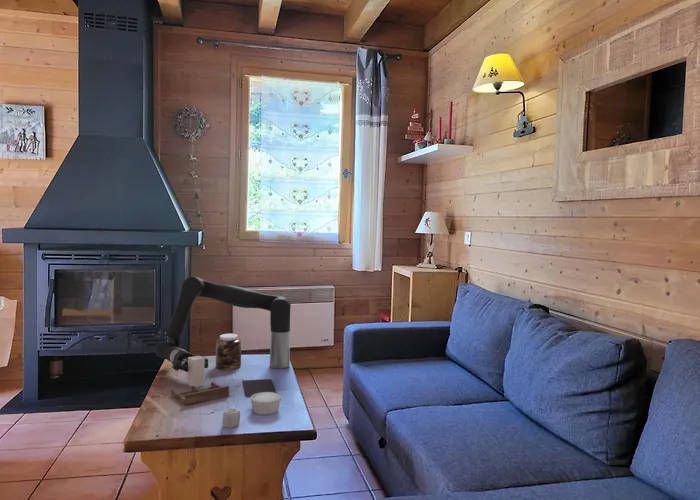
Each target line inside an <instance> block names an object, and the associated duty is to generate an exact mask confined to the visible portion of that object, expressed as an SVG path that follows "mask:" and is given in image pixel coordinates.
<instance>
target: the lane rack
mask: <svg viewBox="0 0 700 500" xmlns="http://www.w3.org/2000/svg"><path fill="white" fill-rule="evenodd" d="M170 394H171V395H170V396H171V397H173V398H175V399H176V400H177V401H178V402H180V403H181V404H182V405H184V406H186V407H188V406H191V405H197V404H202V403H205V402H209V401H214V400H218V399H223V398H228V397H230V386H229V385H226V386H220V384H217V383H216V382H214V381H211V382H210V386H209V387H204V388H198V387H195V386H192V387H191V390H190V391H186V392H180V393H179V392H177V391H176V390H174V389H171V393H170Z"/></svg>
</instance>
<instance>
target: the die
mask: <svg viewBox="0 0 700 500" xmlns="http://www.w3.org/2000/svg"><path fill="white" fill-rule="evenodd" d="M221 421H222V426H224V427H225V428H227V427H229V429H230V428H231V429H232V428H236V427H238V426H239V425H240V421H241V412H240V410H239V409H238V408H233V407H232V408H227V409H226V408H225V410H223V414H222V420H221Z"/></svg>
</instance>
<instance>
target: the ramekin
mask: <svg viewBox="0 0 700 500" xmlns="http://www.w3.org/2000/svg"><path fill="white" fill-rule="evenodd" d="M281 399H282V396H281V394H279V393H277V392H276V393H273V392H261V393H256V394H254V395H252V396H251V397H250V402H251V403H250V404H251V409H252V411H253V413H255V414H256V415H259V416H263V415H264V416H265V415H266V416H269V415H273V414H275V413H277V412H278V411H279V408H280V403H281Z"/></svg>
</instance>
